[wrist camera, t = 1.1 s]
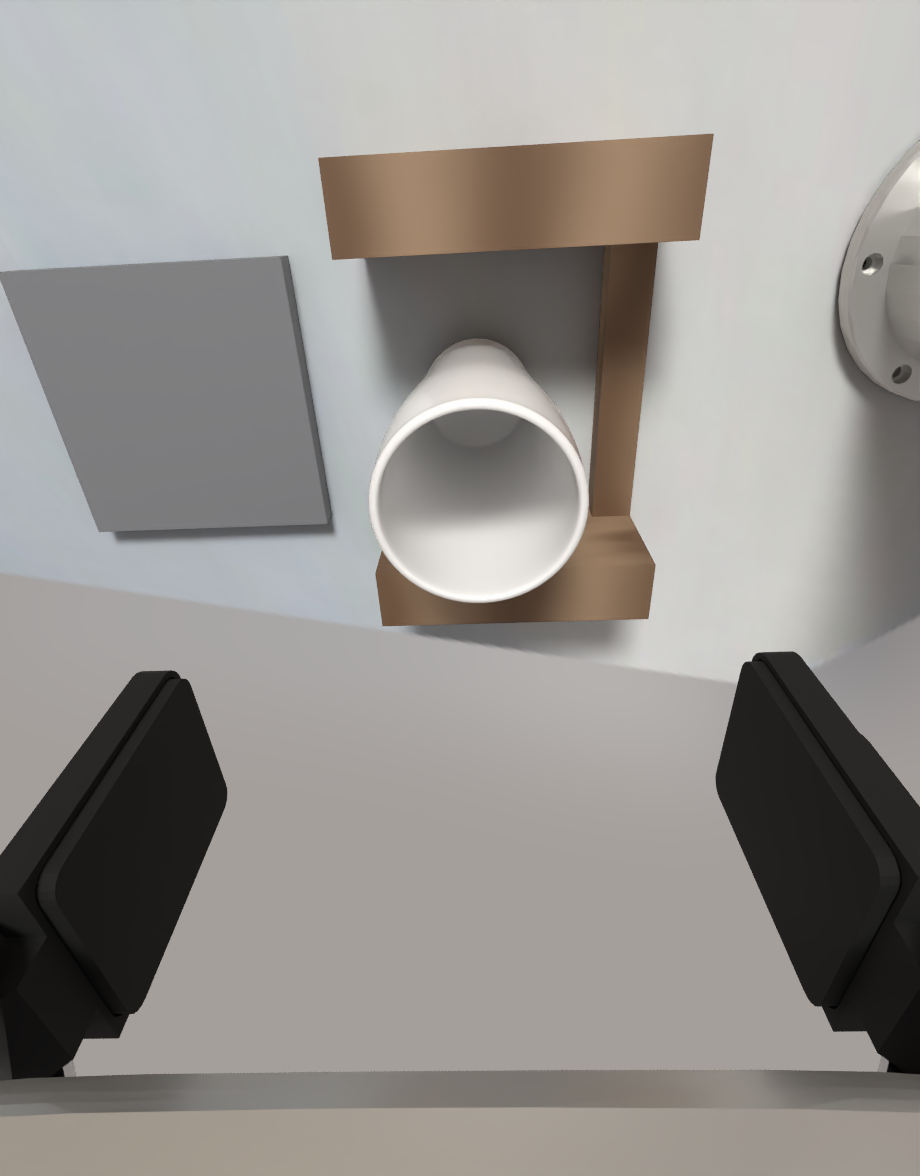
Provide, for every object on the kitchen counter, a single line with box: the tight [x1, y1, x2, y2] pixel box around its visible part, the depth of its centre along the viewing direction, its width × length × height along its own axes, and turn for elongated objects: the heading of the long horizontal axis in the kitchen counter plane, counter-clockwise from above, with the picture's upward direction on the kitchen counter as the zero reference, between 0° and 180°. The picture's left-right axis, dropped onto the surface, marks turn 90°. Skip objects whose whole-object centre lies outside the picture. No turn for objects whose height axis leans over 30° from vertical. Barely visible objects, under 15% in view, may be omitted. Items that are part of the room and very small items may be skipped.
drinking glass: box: [369, 338, 589, 603], centre depth 24 cm, size 7×7×15 cm
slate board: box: [0, 256, 332, 532], centre depth 31 cm, size 13×13×1 cm
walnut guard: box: [318, 134, 714, 626], centre depth 28 cm, size 13×19×7 cm
